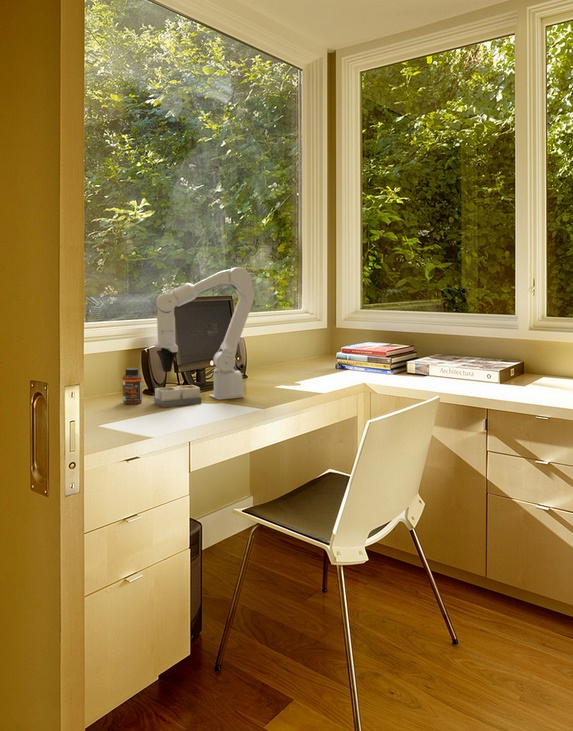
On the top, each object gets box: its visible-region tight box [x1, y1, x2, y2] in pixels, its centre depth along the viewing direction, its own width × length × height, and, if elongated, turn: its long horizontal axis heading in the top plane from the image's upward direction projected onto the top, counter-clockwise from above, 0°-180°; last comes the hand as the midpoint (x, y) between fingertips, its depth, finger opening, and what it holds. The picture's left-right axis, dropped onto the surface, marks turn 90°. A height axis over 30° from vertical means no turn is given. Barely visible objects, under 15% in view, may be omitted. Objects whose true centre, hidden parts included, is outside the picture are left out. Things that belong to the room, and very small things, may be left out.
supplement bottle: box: [122, 367, 143, 405], centre depth 200 cm, size 6×6×11 cm
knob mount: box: [153, 384, 202, 408], centre depth 201 cm, size 13×8×5 cm, turn 122°
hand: (167, 371), depth 206 cm, fingers closed
